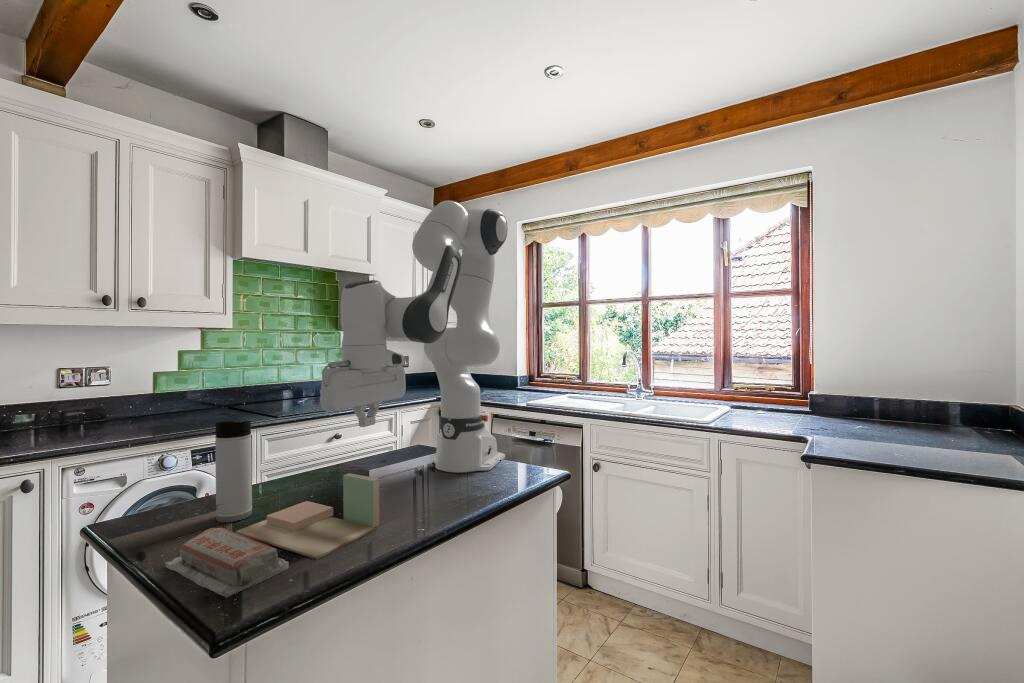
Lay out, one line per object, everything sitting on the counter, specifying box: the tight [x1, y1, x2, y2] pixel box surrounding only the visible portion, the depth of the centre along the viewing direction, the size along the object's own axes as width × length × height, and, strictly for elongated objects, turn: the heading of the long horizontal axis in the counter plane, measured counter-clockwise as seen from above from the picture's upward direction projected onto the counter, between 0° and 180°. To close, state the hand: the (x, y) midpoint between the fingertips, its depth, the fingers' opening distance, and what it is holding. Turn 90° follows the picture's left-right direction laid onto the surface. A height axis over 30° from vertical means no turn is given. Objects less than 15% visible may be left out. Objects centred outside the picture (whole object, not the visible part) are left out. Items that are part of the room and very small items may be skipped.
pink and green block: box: [342, 472, 380, 528], centre depth 91 cm, size 2×8×9 cm, turn 62°
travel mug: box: [214, 420, 253, 523], centre depth 94 cm, size 6×7×20 cm
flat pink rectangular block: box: [266, 500, 334, 532], centre depth 92 cm, size 2×8×9 cm
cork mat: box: [235, 516, 376, 560], centre depth 87 cm, size 13×22×1 cm, turn 62°
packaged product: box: [164, 527, 290, 599], centre depth 74 cm, size 18×5×10 cm
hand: (367, 425), depth 96 cm, fingers closed
